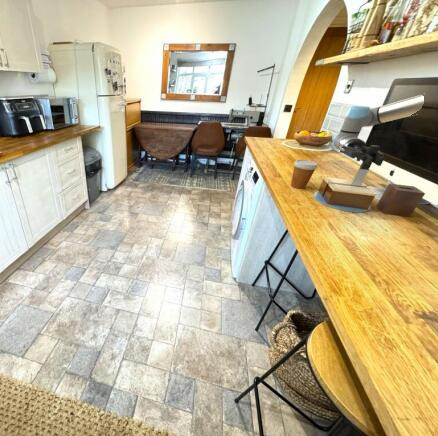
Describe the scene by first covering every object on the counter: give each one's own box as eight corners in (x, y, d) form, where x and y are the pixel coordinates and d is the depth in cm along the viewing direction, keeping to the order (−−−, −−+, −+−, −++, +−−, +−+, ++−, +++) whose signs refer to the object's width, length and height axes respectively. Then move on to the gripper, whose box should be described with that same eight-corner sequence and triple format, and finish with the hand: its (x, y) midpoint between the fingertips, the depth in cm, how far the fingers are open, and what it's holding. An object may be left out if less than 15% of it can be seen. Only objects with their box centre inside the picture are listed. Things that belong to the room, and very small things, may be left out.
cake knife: (354, 196, 101) (379, 145, 90) (355, 197, 99) (381, 146, 89) (345, 194, 102) (369, 144, 91) (346, 196, 100) (371, 146, 90)
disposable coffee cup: (310, 191, 111) (320, 166, 105) (287, 188, 114) (296, 163, 108) (307, 184, 119) (316, 160, 113) (286, 181, 122) (293, 158, 116)
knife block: (400, 209, 97) (414, 186, 92) (409, 217, 91) (425, 193, 86) (376, 205, 99) (388, 183, 94) (384, 213, 94) (398, 190, 89)
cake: (358, 195, 108) (367, 179, 104) (379, 216, 92) (389, 198, 88) (308, 189, 114) (314, 174, 110) (319, 207, 97) (327, 190, 93)
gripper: (369, 157, 106) (396, 174, 87) (329, 153, 111) (346, 169, 92) (377, 139, 103) (408, 153, 83) (336, 136, 107) (355, 149, 88)
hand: (375, 161), depth 88 cm, fingers closed on cake knife, 2 cm apart
